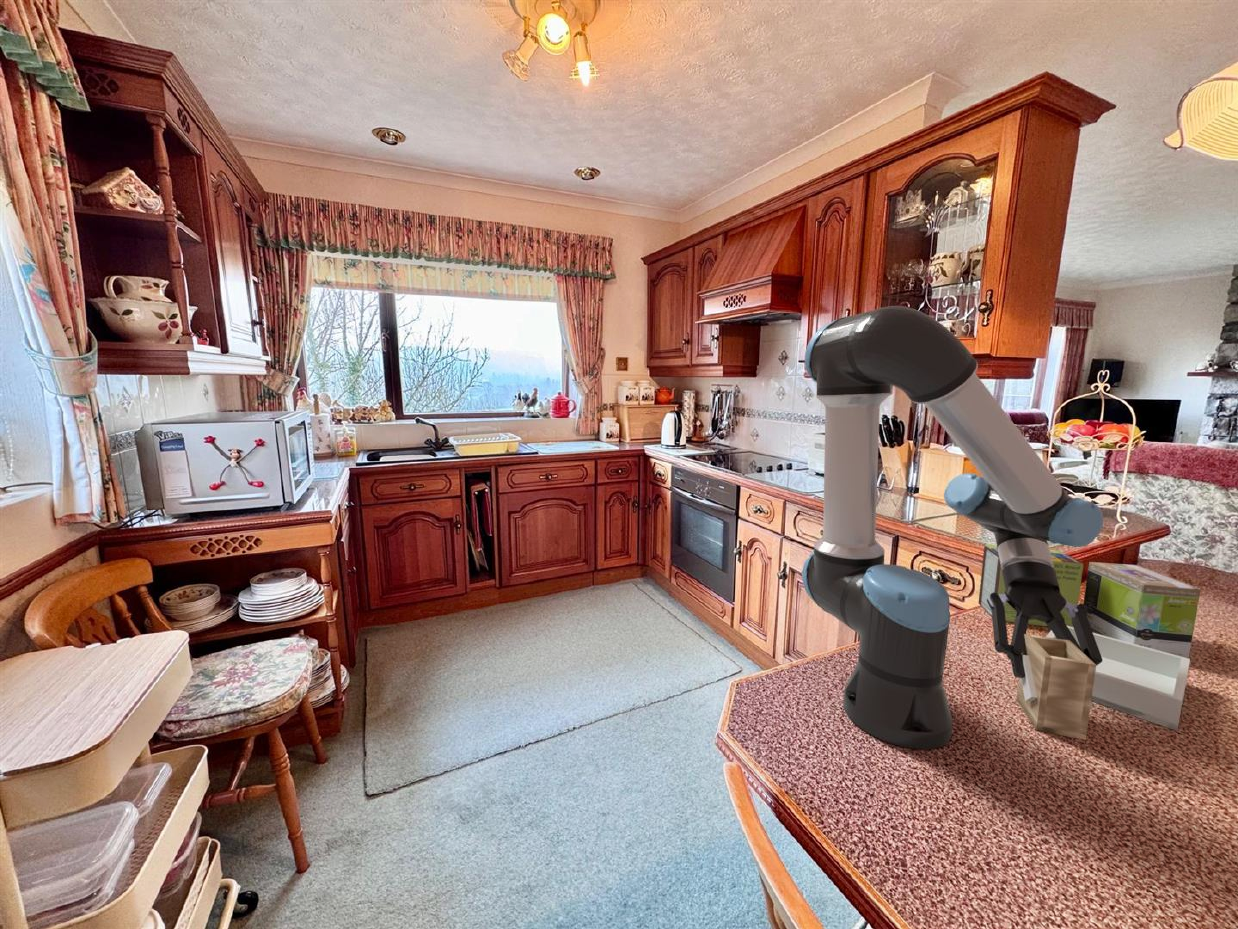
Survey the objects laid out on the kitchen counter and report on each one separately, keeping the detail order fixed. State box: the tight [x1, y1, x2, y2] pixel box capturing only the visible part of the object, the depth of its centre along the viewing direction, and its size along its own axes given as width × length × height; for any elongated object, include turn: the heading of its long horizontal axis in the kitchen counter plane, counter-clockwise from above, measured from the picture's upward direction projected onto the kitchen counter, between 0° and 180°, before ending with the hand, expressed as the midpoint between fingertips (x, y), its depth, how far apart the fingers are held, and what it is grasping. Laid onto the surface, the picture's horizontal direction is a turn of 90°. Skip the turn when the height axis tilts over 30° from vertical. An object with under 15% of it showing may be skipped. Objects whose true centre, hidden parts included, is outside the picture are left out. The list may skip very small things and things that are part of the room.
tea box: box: [1082, 561, 1201, 659], centre depth 104 cm, size 15×10×15 cm
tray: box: [1045, 626, 1191, 732], centre depth 88 cm, size 18×20×5 cm
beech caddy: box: [1015, 633, 1096, 741], centre depth 77 cm, size 6×8×12 cm
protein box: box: [978, 544, 1084, 627], centre depth 115 cm, size 10×15×16 cm
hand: (1057, 704), depth 76 cm, fingers closed on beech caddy, 6 cm apart
